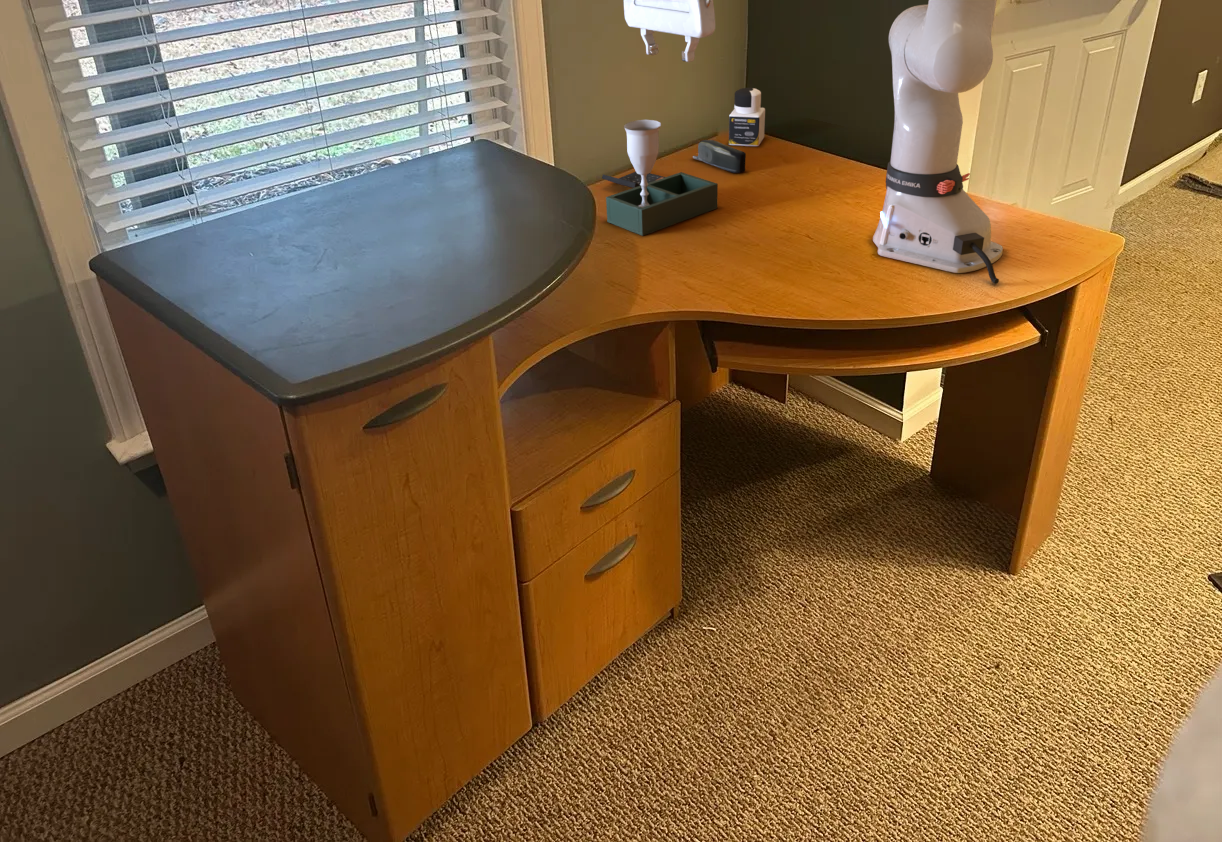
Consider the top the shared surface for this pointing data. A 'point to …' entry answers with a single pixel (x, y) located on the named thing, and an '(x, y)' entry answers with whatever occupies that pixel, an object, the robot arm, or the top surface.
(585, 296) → the top surface
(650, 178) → the calculator
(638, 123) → the chalice
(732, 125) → the medicine bottle
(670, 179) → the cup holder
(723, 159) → the stapler
